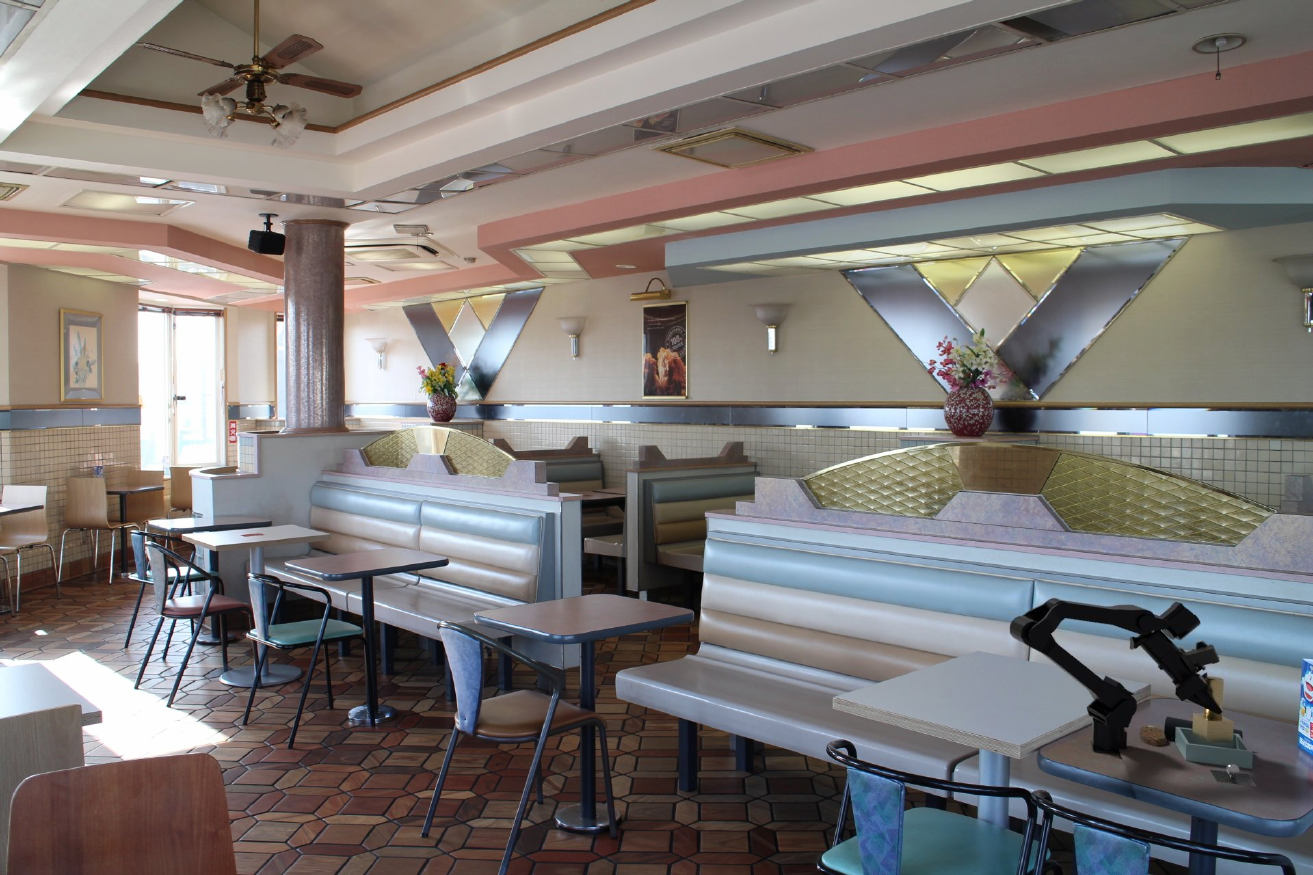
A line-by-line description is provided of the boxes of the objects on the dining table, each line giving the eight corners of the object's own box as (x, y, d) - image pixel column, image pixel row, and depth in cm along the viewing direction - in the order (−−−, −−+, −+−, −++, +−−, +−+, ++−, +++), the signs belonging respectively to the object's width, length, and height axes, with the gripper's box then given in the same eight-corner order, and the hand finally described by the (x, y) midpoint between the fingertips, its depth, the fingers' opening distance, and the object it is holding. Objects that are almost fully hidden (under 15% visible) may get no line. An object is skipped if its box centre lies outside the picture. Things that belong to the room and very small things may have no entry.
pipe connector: (1174, 706, 229) (1247, 719, 219) (1174, 728, 229) (1246, 742, 220) (1164, 718, 220) (1239, 733, 211) (1163, 741, 220) (1238, 756, 211)
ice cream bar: (1134, 726, 227) (1136, 745, 214) (1145, 712, 226) (1148, 729, 213) (1156, 740, 226) (1160, 760, 212) (1167, 726, 225) (1171, 744, 211)
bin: (1185, 764, 203) (1186, 743, 203) (1175, 746, 215) (1175, 726, 215) (1252, 773, 199) (1252, 751, 199) (1237, 754, 211) (1238, 733, 211)
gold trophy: (1206, 741, 204) (1209, 681, 204) (1192, 732, 210) (1194, 674, 210) (1232, 742, 204) (1235, 682, 204) (1217, 733, 210) (1220, 675, 210)
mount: (1216, 786, 191) (1217, 767, 191) (1209, 774, 198) (1209, 756, 198) (1256, 791, 189) (1257, 772, 189) (1247, 779, 196) (1248, 760, 196)
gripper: (1195, 639, 200) (1254, 699, 195) (1195, 624, 217) (1250, 679, 211) (1152, 670, 205) (1209, 730, 199) (1155, 653, 221) (1208, 708, 215)
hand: (1220, 711), depth 206 cm, fingers closed on gold trophy, 3 cm apart
